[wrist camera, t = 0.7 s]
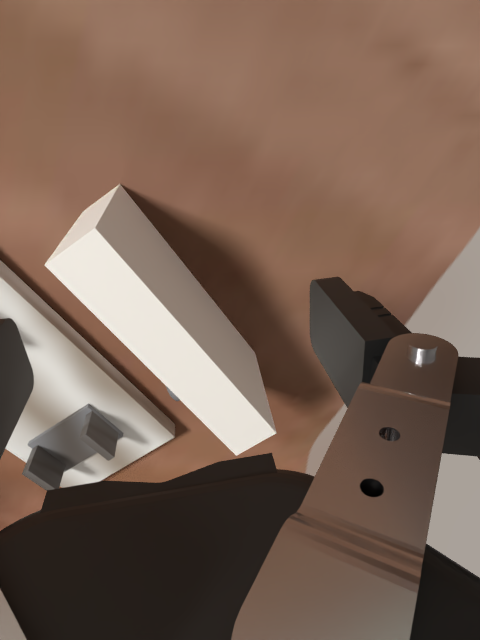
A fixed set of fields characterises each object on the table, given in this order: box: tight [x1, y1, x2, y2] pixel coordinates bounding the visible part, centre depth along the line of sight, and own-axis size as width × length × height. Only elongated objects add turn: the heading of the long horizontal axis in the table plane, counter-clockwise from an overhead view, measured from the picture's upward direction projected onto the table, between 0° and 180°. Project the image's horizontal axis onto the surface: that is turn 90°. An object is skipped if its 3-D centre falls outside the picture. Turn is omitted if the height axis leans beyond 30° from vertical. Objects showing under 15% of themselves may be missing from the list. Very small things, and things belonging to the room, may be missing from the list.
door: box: [45, 184, 276, 455], centre depth 27 cm, size 4×16×9 cm, turn 33°
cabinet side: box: [0, 260, 175, 490], centre depth 31 cm, size 11×22×4 cm, turn 33°
